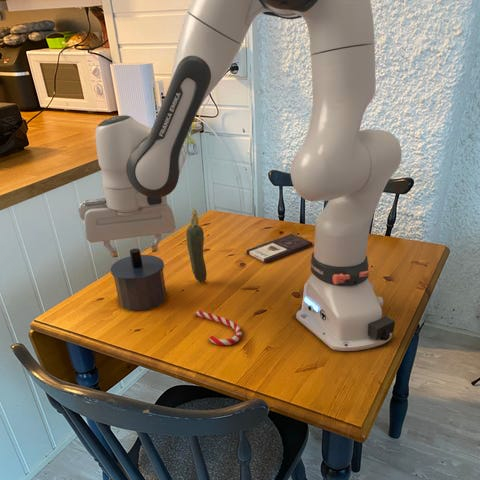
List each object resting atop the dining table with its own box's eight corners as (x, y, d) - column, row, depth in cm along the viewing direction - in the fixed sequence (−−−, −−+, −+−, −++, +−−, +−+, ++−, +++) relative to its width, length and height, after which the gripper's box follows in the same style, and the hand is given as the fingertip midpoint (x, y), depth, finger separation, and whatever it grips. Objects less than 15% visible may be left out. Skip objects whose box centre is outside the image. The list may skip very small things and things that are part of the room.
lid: (168, 277, 109) (165, 257, 106) (112, 286, 106) (108, 265, 103) (160, 256, 119) (158, 236, 116) (110, 263, 116) (106, 243, 113)
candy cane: (208, 305, 110) (250, 331, 101) (208, 309, 111) (250, 336, 101) (180, 317, 106) (222, 345, 96) (181, 322, 107) (222, 350, 97)
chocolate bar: (312, 242, 140) (266, 260, 130) (312, 245, 140) (266, 263, 131) (291, 233, 146) (246, 250, 136) (291, 236, 146) (246, 253, 137)
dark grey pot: (169, 306, 113) (165, 274, 109) (120, 314, 111) (114, 282, 106) (162, 284, 123) (158, 254, 118) (117, 291, 120) (111, 261, 116)
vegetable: (203, 288, 120) (197, 213, 109) (188, 286, 121) (180, 212, 110) (210, 281, 123) (204, 207, 113) (195, 279, 125) (188, 206, 114)
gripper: (76, 206, 98) (89, 265, 106) (173, 195, 102) (179, 253, 110) (76, 196, 103) (89, 254, 111) (169, 187, 107) (175, 242, 115)
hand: (135, 253), depth 110 cm, fingers open, 8 cm apart
